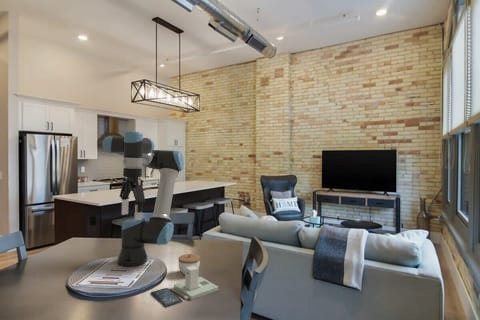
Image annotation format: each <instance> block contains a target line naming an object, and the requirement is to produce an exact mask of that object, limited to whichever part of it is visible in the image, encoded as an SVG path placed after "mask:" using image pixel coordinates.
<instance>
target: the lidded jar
mask: <svg viewBox="0 0 480 320" xmlns="http://www.w3.org/2000/svg"><path fill="white" fill-rule="evenodd" d="M177 260H178V268H179V271H180V272H181V273H182V274H183V275H184V276H185V274H186V267H190V266H195V267H197V268H200V266H201V265H200V264H201V256H200V255H198V254H195V253H188V254H187V253H186V254H181V255H179V257H178V259H177Z"/></svg>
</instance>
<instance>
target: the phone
mask: <svg viewBox="0 0 480 320" xmlns="http://www.w3.org/2000/svg"><path fill="white" fill-rule="evenodd" d="M167 288H168V287H164V288H161V289H158V290H154V291H153V290H152V291H151V292H150V294H151V296H153V297H154V298H155V299H156V300H157V301H158V302H160V303H161V304H162V305H163V306H164V307H165V308H169V307H172V306H175V305H178V304H180V303H181V304H182V303H183V300H182V299H181V298H180V297H179V296H177V294H176V293H174V292H172V291H170V290H168V289H167Z"/></svg>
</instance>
